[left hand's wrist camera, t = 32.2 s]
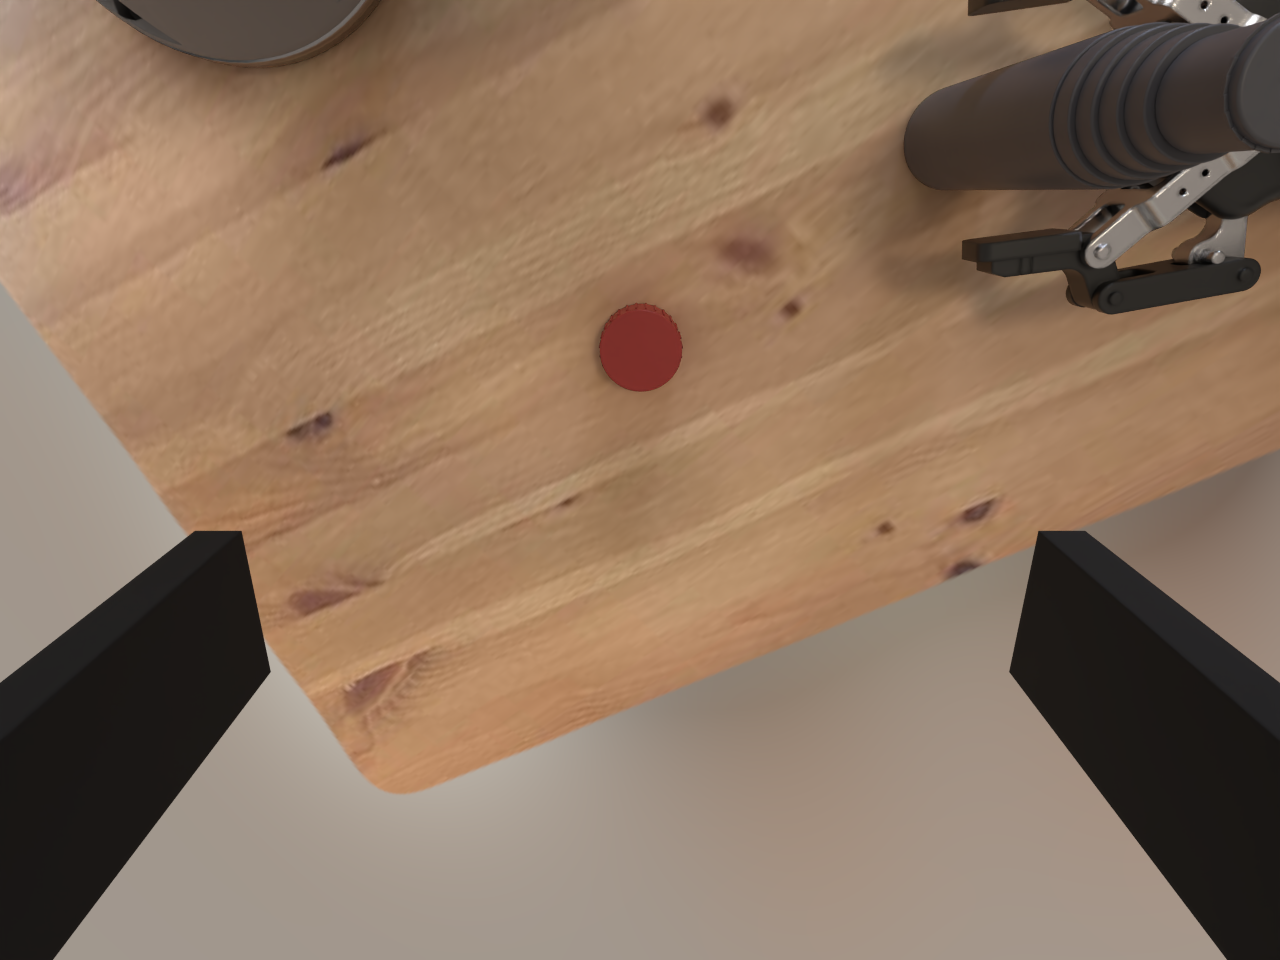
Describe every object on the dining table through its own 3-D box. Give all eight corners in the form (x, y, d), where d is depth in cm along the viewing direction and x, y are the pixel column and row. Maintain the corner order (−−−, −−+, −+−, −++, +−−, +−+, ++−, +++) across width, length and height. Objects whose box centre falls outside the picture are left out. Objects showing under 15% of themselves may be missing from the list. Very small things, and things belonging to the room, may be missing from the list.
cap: (679, 382, 38) (682, 393, 36) (601, 382, 38) (599, 392, 36) (681, 302, 37) (684, 309, 35) (600, 302, 37) (598, 308, 35)
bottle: (929, 209, 36) (1235, 227, 17) (886, 124, 34) (1169, 46, 16) (1015, 154, 35) (1433, 111, 16) (975, 64, 33) (1381, -90, 15)
